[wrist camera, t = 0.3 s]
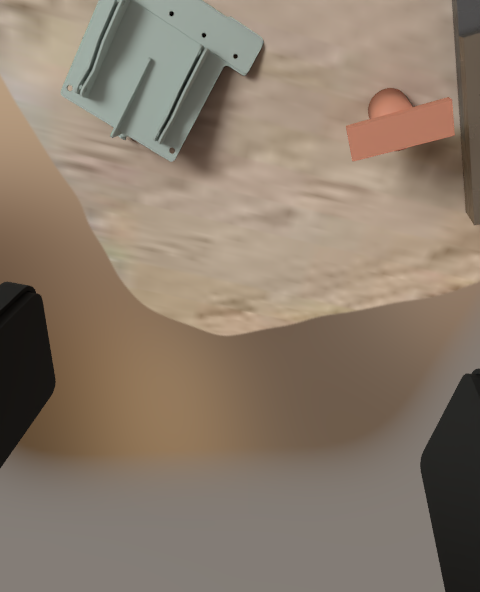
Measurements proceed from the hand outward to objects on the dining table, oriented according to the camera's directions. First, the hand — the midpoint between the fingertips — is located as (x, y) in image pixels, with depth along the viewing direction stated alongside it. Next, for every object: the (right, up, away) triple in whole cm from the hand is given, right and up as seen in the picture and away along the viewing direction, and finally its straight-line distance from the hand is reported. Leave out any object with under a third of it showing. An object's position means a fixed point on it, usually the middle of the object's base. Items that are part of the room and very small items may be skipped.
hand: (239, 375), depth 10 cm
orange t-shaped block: (+13, +18, +28) cm, 36 cm away
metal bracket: (-7, +22, +30) cm, 38 cm away
